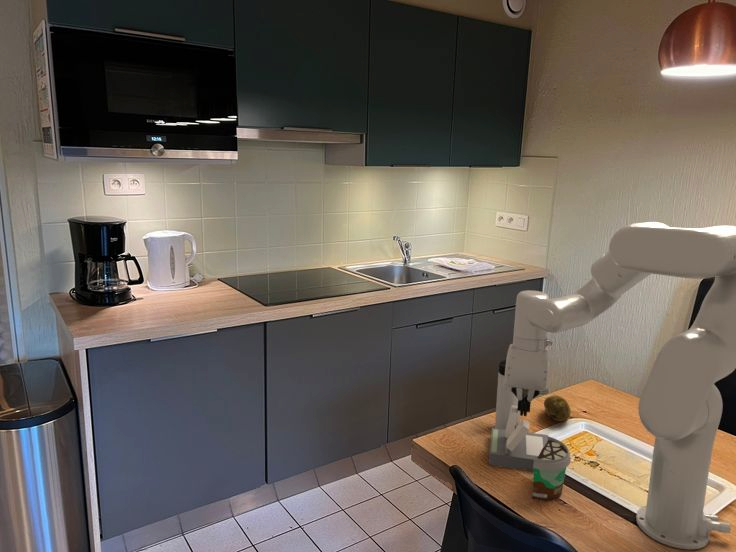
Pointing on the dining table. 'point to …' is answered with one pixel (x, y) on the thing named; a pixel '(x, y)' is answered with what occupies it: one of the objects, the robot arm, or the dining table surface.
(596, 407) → the dining table surface
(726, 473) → the dining table surface
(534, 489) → the food container
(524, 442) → the panel
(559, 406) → the potato
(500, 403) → the travel mug
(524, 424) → the paddle
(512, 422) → the paddle on
